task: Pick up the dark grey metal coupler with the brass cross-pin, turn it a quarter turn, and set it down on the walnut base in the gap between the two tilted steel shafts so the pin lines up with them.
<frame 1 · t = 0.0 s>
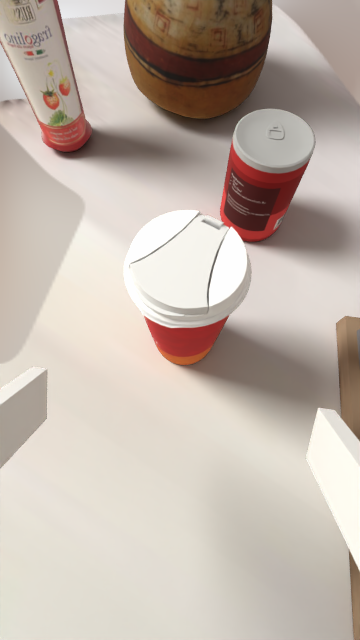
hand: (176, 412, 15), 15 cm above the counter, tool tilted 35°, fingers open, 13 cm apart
coffee cup: (183, 338, 33), on the counter
liquor: (70, 142, 44), on the counter
canned food: (249, 218, 39), on the counter
ceramic pitcher: (193, 90, 49), on the counter
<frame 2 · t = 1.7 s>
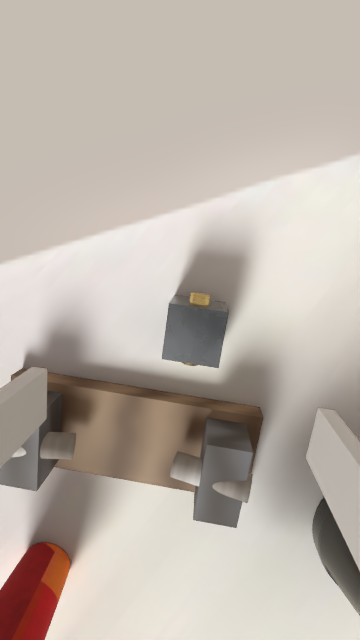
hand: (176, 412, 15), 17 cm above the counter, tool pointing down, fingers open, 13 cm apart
shaft stand: (134, 428, 34), on the counter
coffee cup: (49, 559, 40), on the counter
coupler: (196, 322, 31), on the counter
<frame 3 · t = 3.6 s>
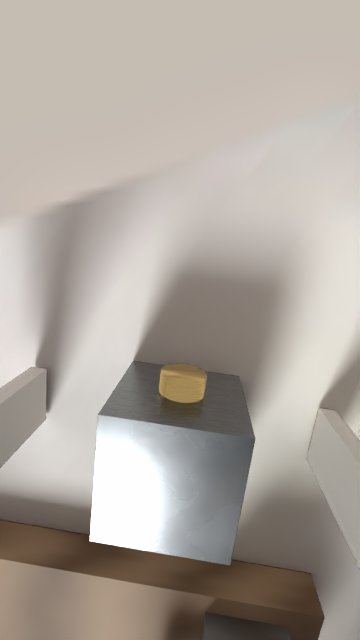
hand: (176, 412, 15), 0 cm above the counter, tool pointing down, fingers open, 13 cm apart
shaft stand: (69, 601, 18), on the counter
coupler: (179, 415, 15), on the counter
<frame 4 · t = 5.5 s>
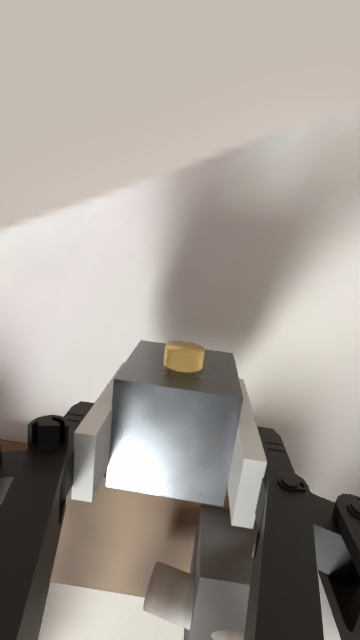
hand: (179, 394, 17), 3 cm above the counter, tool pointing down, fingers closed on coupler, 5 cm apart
shaft stand: (95, 510, 23), on the counter
coupler: (181, 388, 17), point 3 cm above the counter, touching gripper
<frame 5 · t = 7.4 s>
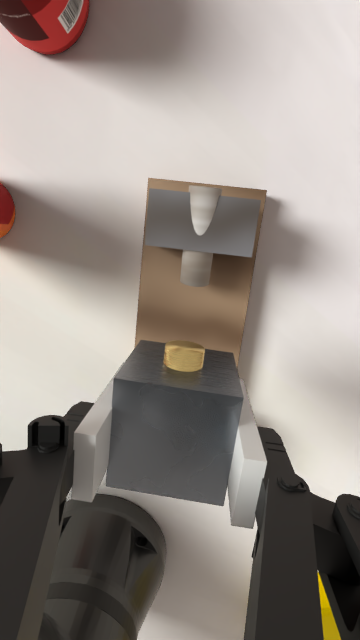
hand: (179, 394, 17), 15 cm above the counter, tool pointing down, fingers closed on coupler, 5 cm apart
shaft stand: (189, 326, 31), on the counter
element tile: (330, 613, 39), on the counter
coupler: (181, 388, 17), point 14 cm above the counter, touching gripper
canned food: (49, 4, 26), on the counter
when the fingers open (2 cm above the counter, at t = 9.2 s): coupler stays where it is, resting on shaft stand.
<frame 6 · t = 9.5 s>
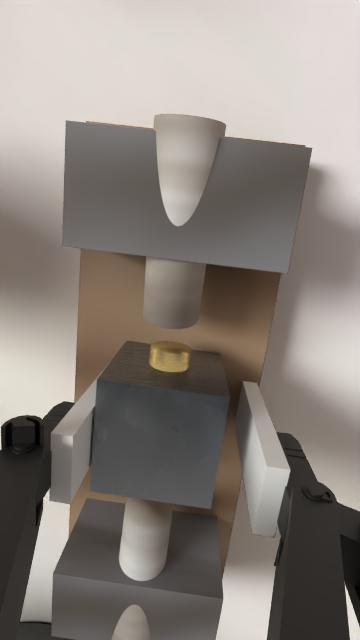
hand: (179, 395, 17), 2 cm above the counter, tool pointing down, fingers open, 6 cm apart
shaft stand: (167, 379, 19), on the counter
coupler: (168, 389, 17), point 2 cm above the counter, touching gripper, shaft stand
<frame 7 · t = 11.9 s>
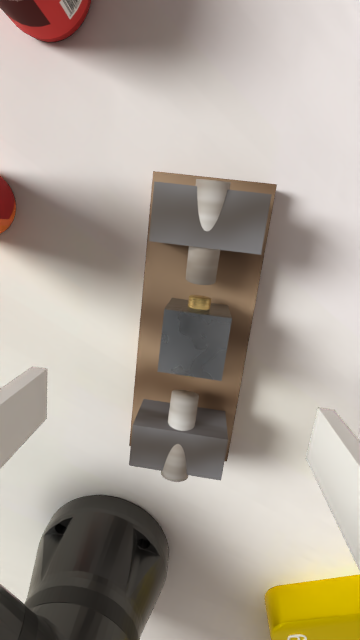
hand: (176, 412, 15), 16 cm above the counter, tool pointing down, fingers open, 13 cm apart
shaft stand: (194, 325, 30), on the counter
element tile: (334, 620, 38), on the counter
coupler: (196, 328, 28), point 2 cm above the counter, touching shaft stand
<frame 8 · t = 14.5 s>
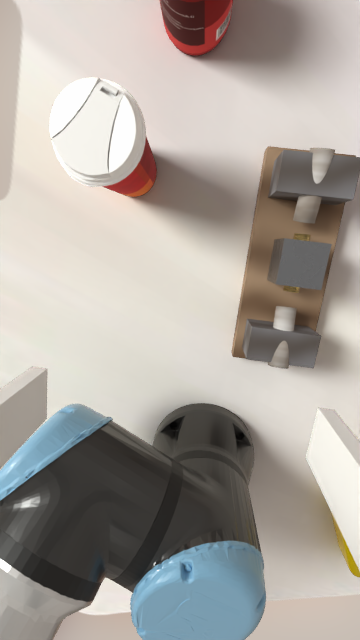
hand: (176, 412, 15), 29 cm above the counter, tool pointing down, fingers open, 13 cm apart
shaft stand: (285, 263, 41), on the counter
coffee cup: (133, 173, 40), on the counter
coupler: (290, 262, 39), point 2 cm above the counter, touching shaft stand
canned food: (197, 19, 35), on the counter
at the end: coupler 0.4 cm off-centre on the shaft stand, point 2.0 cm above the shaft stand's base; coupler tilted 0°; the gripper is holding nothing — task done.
